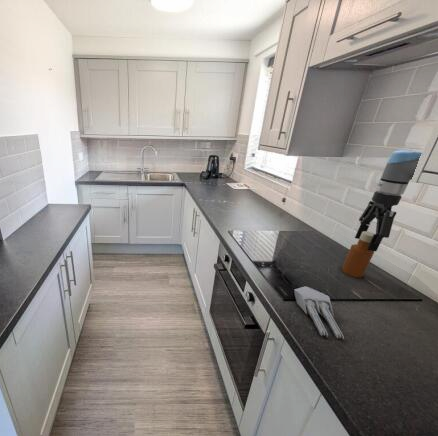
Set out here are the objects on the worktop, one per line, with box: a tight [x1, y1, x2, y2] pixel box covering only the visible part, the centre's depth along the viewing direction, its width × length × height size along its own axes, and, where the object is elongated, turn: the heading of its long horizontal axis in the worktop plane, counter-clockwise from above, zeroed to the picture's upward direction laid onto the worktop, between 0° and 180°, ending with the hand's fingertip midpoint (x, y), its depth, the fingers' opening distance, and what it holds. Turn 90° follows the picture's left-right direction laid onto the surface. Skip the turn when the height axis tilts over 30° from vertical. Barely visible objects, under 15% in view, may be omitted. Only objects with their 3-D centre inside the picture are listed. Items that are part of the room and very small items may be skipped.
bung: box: [360, 230, 375, 243], centre depth 95 cm, size 5×5×6 cm
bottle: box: [341, 239, 375, 278], centre depth 98 cm, size 7×7×16 cm
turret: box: [293, 285, 345, 340], centre depth 77 cm, size 10×20×5 cm, turn 171°
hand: (364, 244), depth 96 cm, fingers open, 10 cm apart
